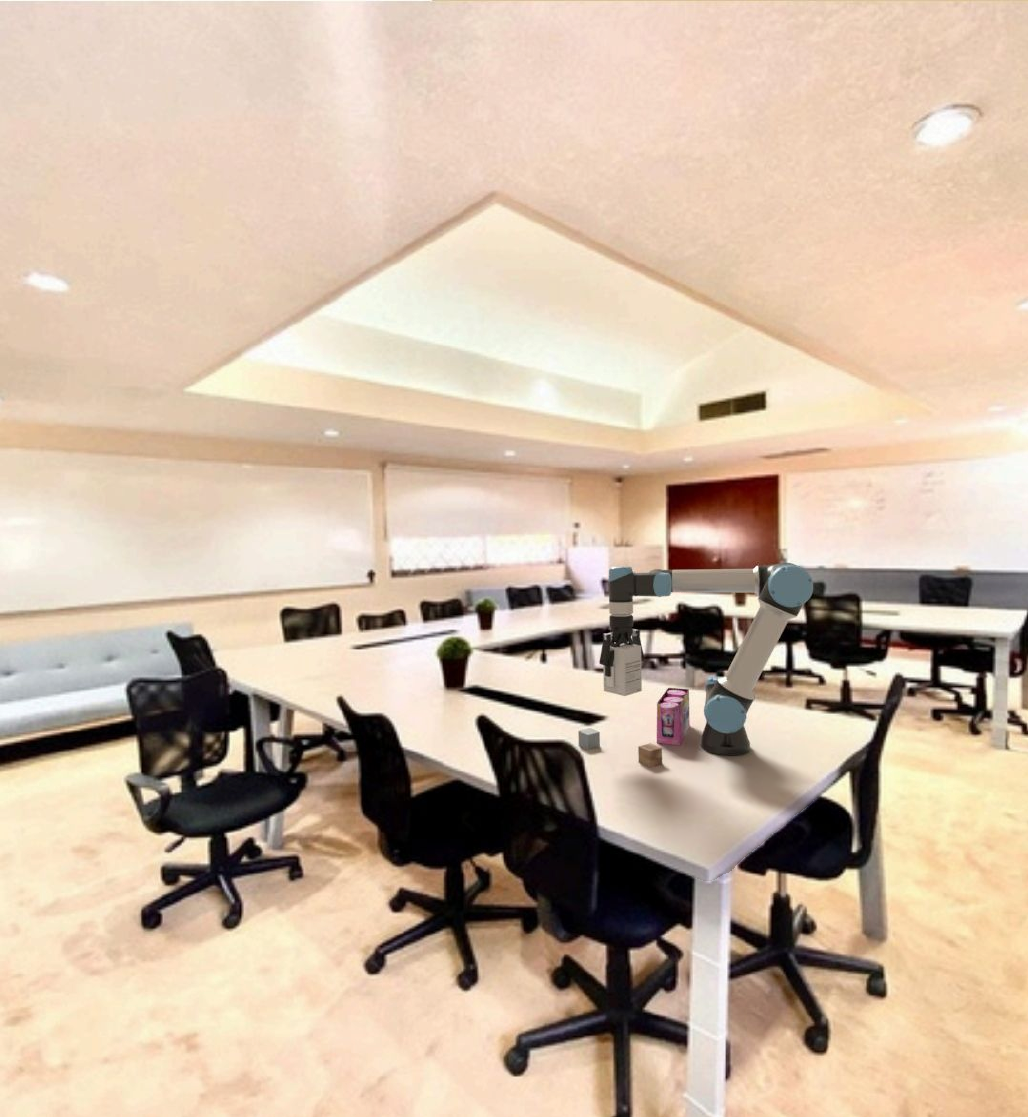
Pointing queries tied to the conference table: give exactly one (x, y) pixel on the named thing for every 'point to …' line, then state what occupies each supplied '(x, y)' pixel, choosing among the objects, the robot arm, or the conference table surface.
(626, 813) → the conference table surface
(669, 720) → the gum box
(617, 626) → the robot arm
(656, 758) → the walnut block
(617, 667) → the supplement box
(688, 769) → the conference table surface
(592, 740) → the slate block
